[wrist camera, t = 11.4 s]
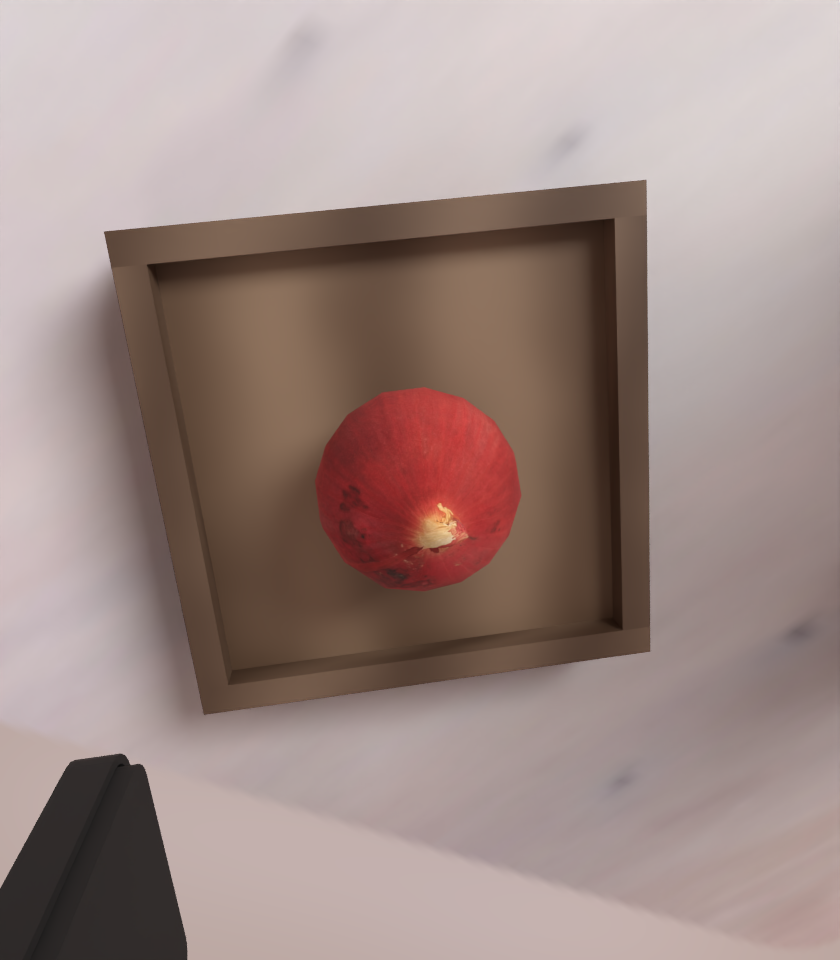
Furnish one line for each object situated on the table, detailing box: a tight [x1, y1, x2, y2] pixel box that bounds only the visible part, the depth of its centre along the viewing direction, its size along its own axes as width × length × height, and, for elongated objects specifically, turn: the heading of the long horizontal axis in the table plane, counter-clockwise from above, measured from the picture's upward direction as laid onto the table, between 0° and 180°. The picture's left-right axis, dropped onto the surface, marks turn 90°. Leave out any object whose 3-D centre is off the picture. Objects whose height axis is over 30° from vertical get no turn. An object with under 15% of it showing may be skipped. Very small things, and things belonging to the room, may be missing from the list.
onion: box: [315, 387, 521, 591], centre depth 21 cm, size 6×6×8 cm
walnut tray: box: [104, 180, 650, 715], centre depth 26 cm, size 16×16×4 cm
